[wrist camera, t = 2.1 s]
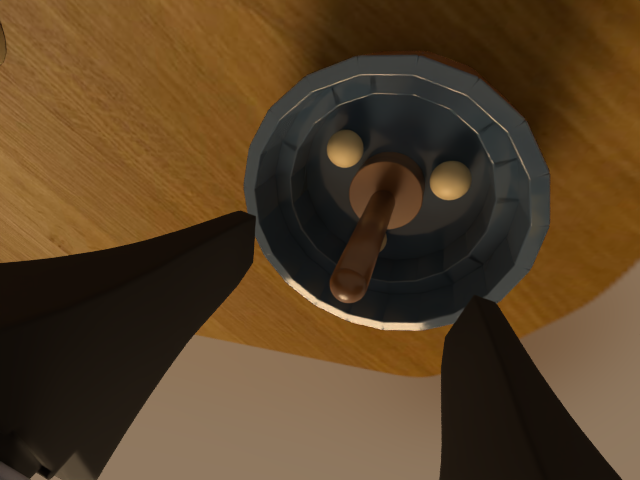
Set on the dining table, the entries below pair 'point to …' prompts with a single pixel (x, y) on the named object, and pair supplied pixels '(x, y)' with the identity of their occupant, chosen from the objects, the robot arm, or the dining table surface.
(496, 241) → the bowl
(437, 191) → the chickpea
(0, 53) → the brown game pawn
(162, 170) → the dining table surface
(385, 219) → the wooden pestle
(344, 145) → the chickpea
